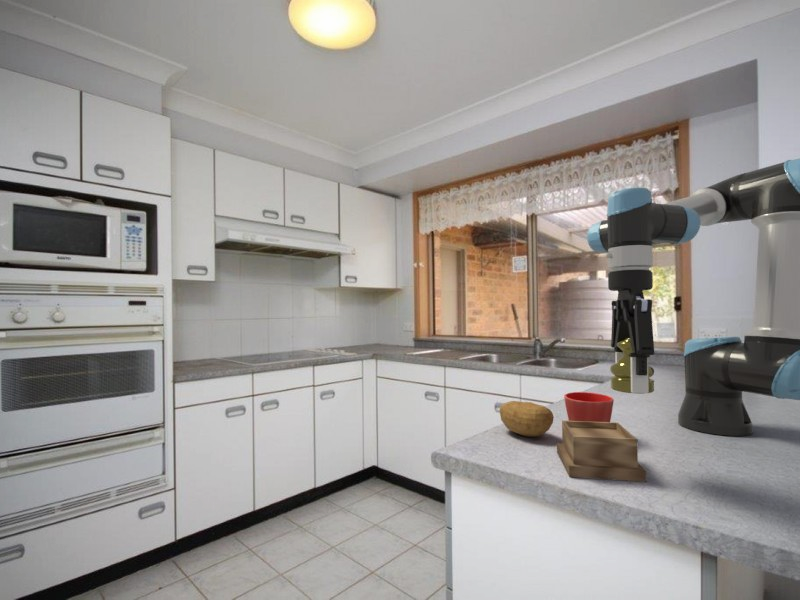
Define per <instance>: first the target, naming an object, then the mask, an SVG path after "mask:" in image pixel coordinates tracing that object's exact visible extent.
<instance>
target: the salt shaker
mask: <svg viewBox="0 0 800 600" xmlns="http://www.w3.org/2000/svg"><path fill="white" fill-rule="evenodd" d="M617 346H618V347H619V348H620V349H621V350H622V351H623V353H624V355H623V357H622V358H621V359H620V360H618V362H617V363H616V362H615V363H613V364H611V365H610V367H609V371H610V373H611V374H612V376H611V377H609V380H610V389H612V390H613V391H617V392H620V393H626V394H633V393H632V392H631V358H630V357H629V354H630V353H633V352H632V346H631V340H630V338H626V339H625V340H624V341H620V342H618V343H617ZM654 374H655V369H654V368H653V366H651V365H649V364H648V387H649V393H648V394H651V393H653V392H655V380H654V379H652V377H653V376H654ZM635 394H636V395H637V394H639V395H640V394H641V395H644V394H645V395H646V394H647V393H635Z"/></svg>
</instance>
